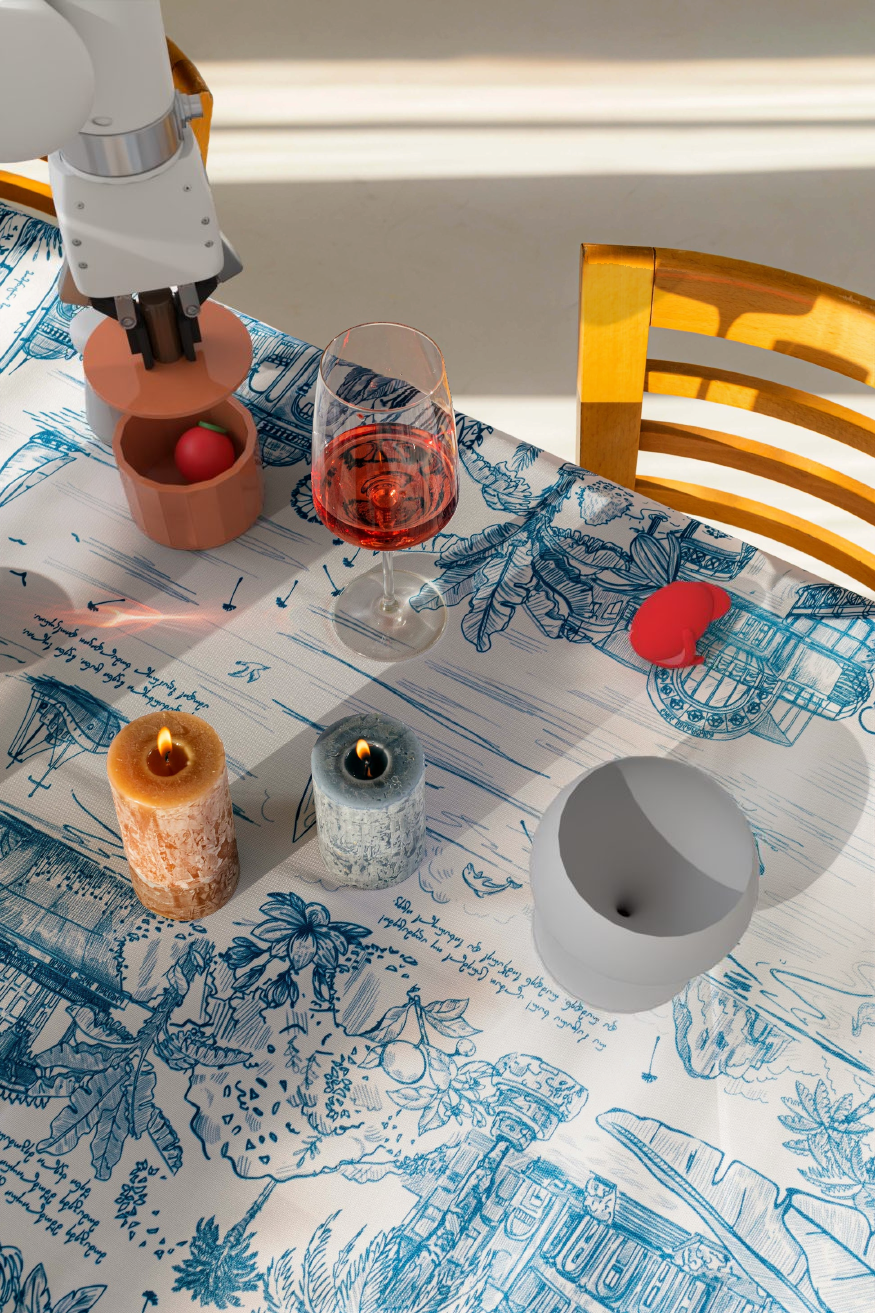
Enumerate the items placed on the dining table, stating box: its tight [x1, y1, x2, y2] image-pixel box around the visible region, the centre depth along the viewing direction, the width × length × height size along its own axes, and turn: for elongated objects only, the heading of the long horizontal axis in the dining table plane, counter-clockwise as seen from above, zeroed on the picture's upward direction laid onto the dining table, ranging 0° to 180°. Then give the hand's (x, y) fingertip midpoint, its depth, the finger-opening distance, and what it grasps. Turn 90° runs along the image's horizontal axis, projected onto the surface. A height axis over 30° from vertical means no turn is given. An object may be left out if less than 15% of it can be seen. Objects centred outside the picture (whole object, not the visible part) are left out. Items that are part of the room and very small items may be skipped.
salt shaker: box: [68, 307, 125, 448], centre depth 100 cm, size 6×6×13 cm
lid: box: [82, 287, 254, 419], centre depth 86 cm, size 12×12×7 cm
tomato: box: [175, 421, 235, 484], centre depth 101 cm, size 5×5×5 cm
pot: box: [111, 394, 266, 551], centre depth 99 cm, size 11×11×8 cm
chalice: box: [528, 755, 761, 1015], centre depth 76 cm, size 14×14×15 cm
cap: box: [627, 580, 732, 670], centre depth 93 cm, size 8×6×6 cm
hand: (167, 350), depth 88 cm, fingers closed on lid, 2 cm apart
